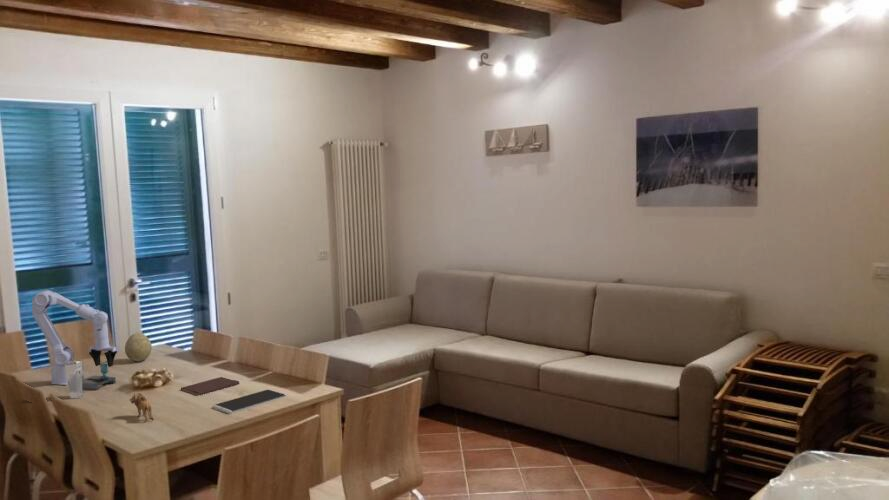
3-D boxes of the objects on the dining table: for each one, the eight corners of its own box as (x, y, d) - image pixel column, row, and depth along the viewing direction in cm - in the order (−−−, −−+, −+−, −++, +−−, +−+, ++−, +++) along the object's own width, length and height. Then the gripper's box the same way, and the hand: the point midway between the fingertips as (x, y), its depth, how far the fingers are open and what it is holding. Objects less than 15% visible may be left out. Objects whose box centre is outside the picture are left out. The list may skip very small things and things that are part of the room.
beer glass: (67, 400, 287) (63, 365, 285) (67, 396, 293) (64, 362, 291) (85, 397, 290) (82, 363, 288) (85, 393, 296) (82, 359, 294)
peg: (98, 379, 317) (97, 364, 316) (105, 377, 321) (103, 362, 320) (105, 380, 316) (103, 365, 315) (111, 378, 319) (110, 362, 319)
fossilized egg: (131, 358, 356) (128, 331, 354) (155, 357, 357) (153, 329, 356) (122, 365, 343) (119, 336, 342) (148, 363, 345) (145, 334, 343)
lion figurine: (129, 416, 263) (127, 393, 262) (142, 412, 267) (140, 390, 266) (147, 423, 254) (145, 400, 253) (161, 419, 258) (159, 396, 257)
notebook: (180, 391, 296) (180, 386, 296) (221, 380, 311) (220, 375, 311) (199, 397, 286) (198, 392, 286) (239, 385, 301) (239, 381, 301)
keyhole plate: (74, 388, 304) (73, 382, 304) (94, 381, 315) (93, 375, 314) (96, 390, 300) (96, 384, 300) (115, 383, 310) (115, 377, 310)
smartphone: (287, 398, 281) (287, 394, 281) (230, 415, 261) (229, 411, 260) (269, 392, 290) (268, 388, 289) (211, 409, 269) (211, 404, 269)
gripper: (120, 336, 318) (122, 364, 319) (96, 335, 322) (99, 362, 324) (108, 339, 311) (111, 368, 312) (84, 338, 316) (87, 366, 317)
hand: (104, 365), depth 318 cm, fingers open, 7 cm apart
